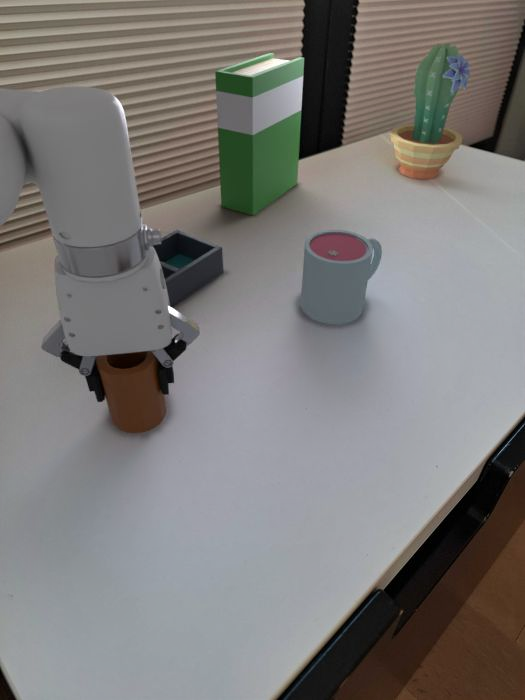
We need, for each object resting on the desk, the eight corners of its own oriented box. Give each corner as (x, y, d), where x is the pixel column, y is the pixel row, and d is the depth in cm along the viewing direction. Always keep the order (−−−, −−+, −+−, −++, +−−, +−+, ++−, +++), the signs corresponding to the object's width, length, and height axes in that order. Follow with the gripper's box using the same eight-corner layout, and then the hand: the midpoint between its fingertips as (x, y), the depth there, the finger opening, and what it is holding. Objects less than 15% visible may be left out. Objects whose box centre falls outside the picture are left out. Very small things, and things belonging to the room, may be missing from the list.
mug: (329, 332, 70) (337, 271, 64) (288, 301, 76) (291, 241, 70) (397, 299, 77) (410, 240, 70) (354, 272, 82) (362, 215, 76)
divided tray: (94, 306, 75) (87, 278, 72) (179, 255, 86) (176, 229, 83) (139, 330, 70) (134, 302, 67) (223, 273, 82) (222, 246, 79)
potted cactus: (389, 184, 109) (413, 51, 93) (379, 157, 121) (399, 36, 105) (461, 185, 109) (498, 53, 93) (444, 159, 121) (474, 37, 104)
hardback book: (267, 176, 112) (269, 52, 96) (297, 184, 109) (304, 57, 93) (221, 206, 100) (215, 71, 85) (252, 215, 97) (252, 77, 82)
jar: (100, 417, 58) (83, 359, 52) (140, 386, 62) (128, 329, 56) (138, 442, 56) (124, 384, 50) (177, 408, 59) (168, 350, 54)
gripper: (198, 220, 49) (209, 359, 60) (8, 232, 46) (58, 374, 58) (203, 260, 43) (214, 405, 55) (-12, 276, 41) (48, 424, 52)
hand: (133, 388), depth 56 cm, fingers closed on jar, 6 cm apart
